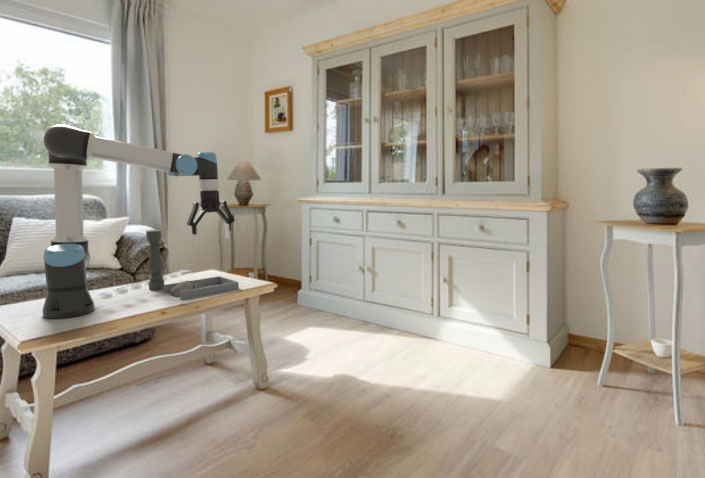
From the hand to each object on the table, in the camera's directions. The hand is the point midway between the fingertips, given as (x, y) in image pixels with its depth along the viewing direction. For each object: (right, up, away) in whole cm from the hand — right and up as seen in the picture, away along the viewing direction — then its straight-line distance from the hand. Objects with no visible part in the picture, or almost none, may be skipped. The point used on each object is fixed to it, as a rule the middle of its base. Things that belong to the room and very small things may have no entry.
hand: (212, 240), depth 183 cm
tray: (-4, -21, -1) cm, 22 cm away
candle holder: (-25, -21, +3) cm, 33 cm away
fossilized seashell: (-8, -22, -6) cm, 25 cm away
